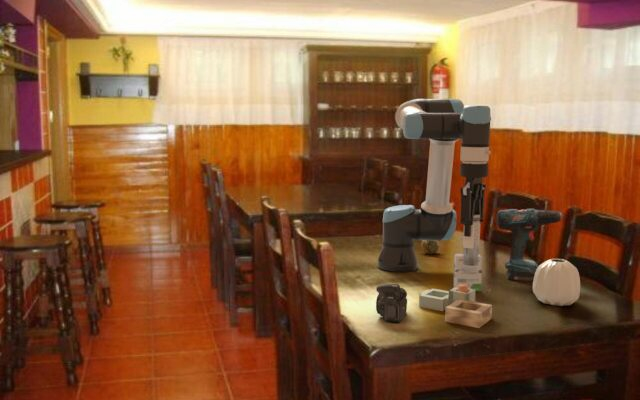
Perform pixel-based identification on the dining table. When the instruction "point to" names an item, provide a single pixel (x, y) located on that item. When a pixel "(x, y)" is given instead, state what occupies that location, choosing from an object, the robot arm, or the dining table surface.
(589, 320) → the dining table surface
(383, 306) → the camera
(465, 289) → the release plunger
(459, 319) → the block
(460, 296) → the socket block
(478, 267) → the ink box
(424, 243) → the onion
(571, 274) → the vase
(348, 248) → the dining table surface
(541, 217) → the power drill
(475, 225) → the metal peg
